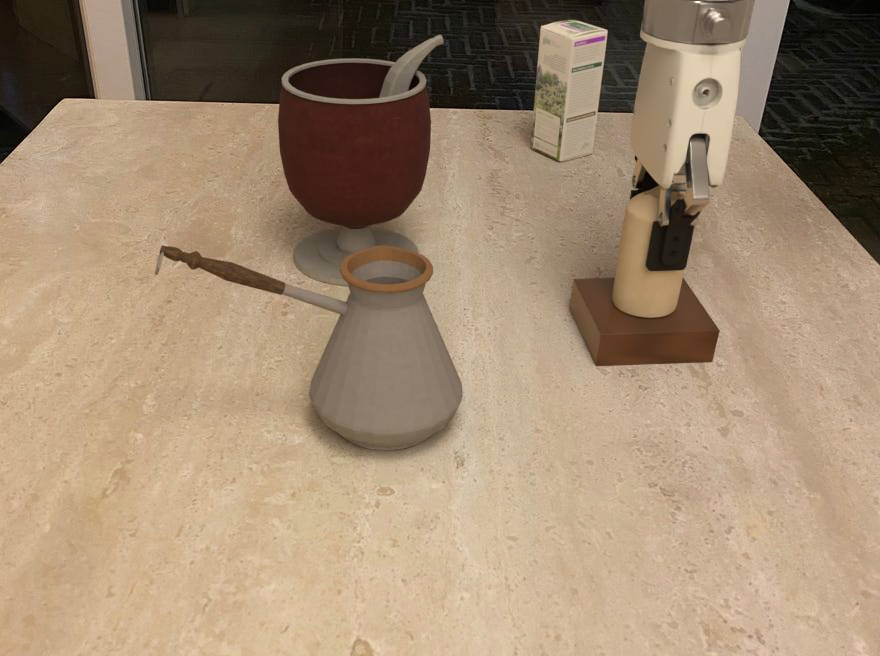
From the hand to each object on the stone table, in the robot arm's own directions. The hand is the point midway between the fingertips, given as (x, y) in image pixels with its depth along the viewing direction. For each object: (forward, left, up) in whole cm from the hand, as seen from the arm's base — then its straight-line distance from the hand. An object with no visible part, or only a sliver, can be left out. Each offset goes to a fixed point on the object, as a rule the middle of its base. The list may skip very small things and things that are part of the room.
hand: (654, 250), depth 83 cm
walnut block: (0, 0, -8) cm, 8 cm away
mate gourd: (+23, -17, -8) cm, 30 cm away
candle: (0, 0, -5) cm, 5 cm away
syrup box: (-3, -45, -8) cm, 46 cm away
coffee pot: (+28, +12, -8) cm, 32 cm away
